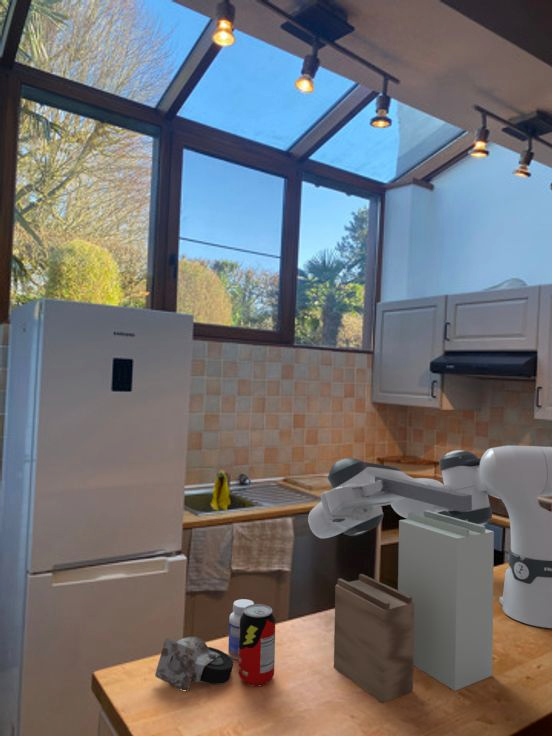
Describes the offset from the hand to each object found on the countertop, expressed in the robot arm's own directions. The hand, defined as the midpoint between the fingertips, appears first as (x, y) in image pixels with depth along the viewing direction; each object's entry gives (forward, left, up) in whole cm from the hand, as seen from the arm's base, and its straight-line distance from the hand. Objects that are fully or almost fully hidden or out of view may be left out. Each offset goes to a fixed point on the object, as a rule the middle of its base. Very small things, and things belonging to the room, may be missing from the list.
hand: (390, 482), depth 115 cm
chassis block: (+15, +12, -32) cm, 37 cm away
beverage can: (+33, +2, -32) cm, 46 cm away
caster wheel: (+41, -4, -32) cm, 52 cm away
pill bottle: (+31, -7, -32) cm, 45 cm away
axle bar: (0, +8, -2) cm, 8 cm away
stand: (0, +15, -32) cm, 35 cm away
